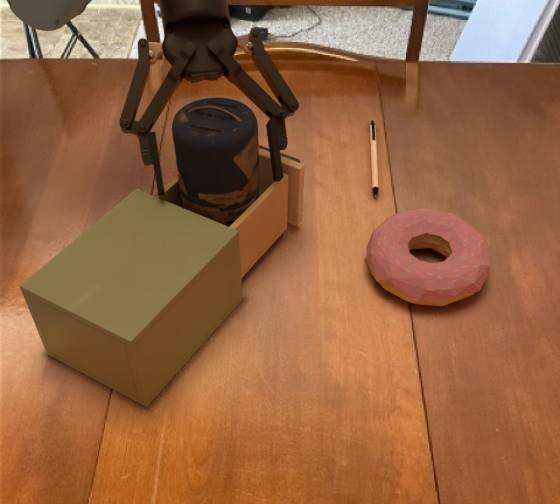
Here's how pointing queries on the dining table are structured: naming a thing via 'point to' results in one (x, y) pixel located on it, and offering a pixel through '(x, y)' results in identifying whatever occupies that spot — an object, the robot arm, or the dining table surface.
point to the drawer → (262, 207)
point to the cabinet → (137, 294)
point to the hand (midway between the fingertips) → (220, 187)
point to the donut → (422, 275)
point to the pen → (374, 158)
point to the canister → (217, 158)
